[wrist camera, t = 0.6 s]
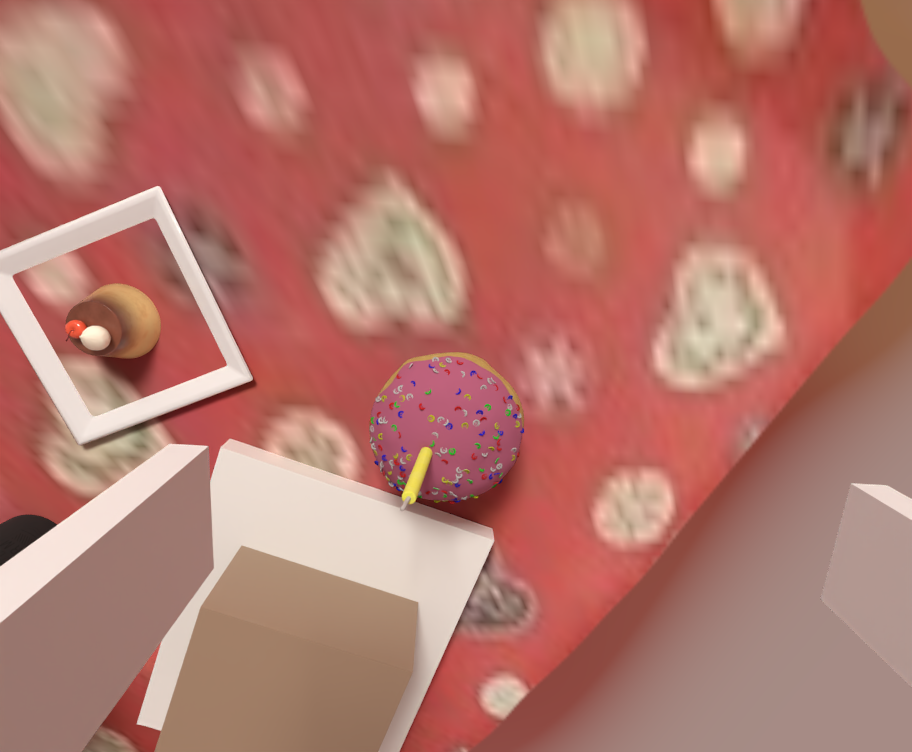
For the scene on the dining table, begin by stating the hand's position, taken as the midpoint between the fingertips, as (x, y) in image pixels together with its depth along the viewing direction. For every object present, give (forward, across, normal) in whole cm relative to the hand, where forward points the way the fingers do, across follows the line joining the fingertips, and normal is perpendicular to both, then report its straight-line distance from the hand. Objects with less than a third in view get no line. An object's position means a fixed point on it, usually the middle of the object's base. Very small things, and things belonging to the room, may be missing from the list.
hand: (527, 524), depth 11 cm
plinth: (+23, -10, -21) cm, 32 cm away
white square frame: (+23, -21, 0) cm, 32 cm away
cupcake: (+23, -2, -4) cm, 23 cm away
